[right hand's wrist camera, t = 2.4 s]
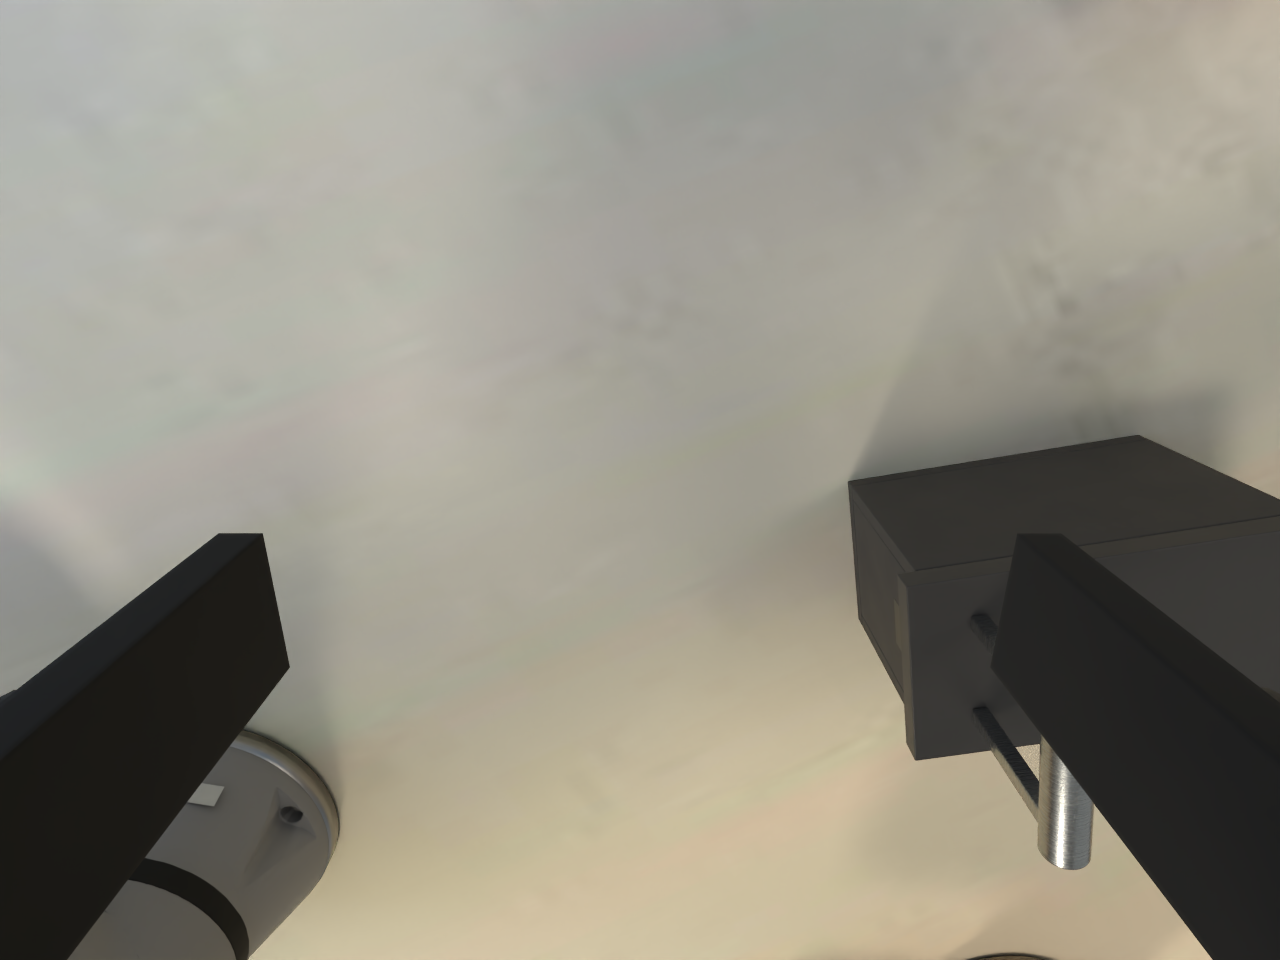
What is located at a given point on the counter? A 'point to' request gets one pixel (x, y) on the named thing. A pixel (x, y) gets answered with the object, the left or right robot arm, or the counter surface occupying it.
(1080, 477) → the chest
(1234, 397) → the counter surface
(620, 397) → the counter surface
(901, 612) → the lid
